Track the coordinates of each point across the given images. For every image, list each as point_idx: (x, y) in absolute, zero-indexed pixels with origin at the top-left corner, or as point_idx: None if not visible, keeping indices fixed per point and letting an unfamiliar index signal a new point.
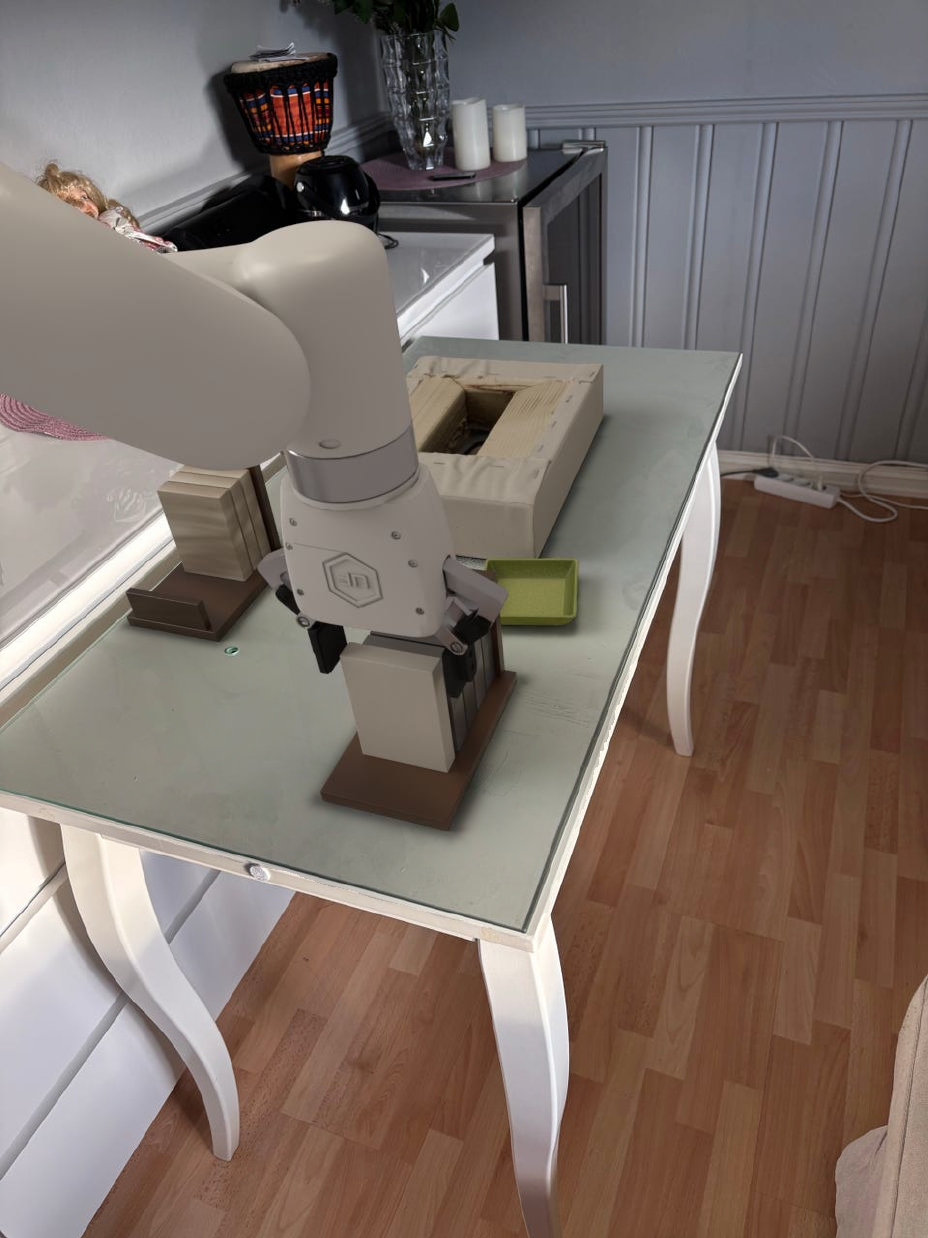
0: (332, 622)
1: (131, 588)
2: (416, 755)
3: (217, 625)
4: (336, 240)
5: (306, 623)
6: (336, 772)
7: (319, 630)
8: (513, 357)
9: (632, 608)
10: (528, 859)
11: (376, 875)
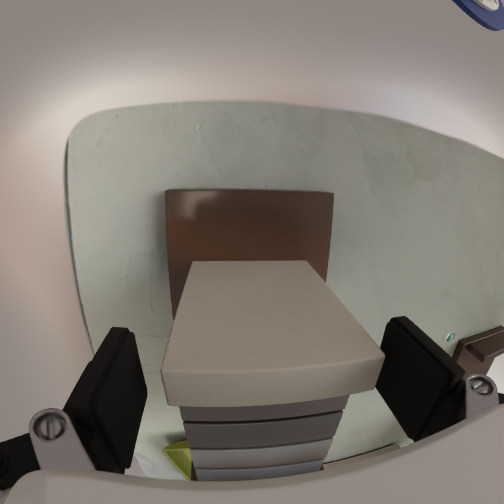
0: (466, 432)
1: None
2: (231, 267)
3: (463, 351)
4: None
5: (475, 385)
6: (326, 225)
7: (445, 385)
8: None
9: (138, 453)
10: (81, 185)
11: (225, 111)
